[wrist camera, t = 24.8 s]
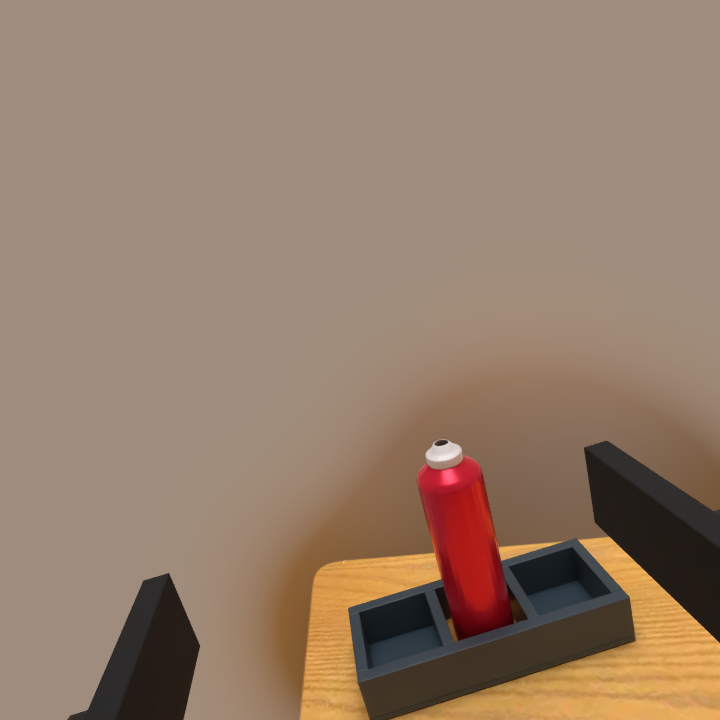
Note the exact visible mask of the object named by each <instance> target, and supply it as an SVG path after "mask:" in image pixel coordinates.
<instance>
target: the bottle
mask: <svg viewBox="0 0 720 720" xmlns="http://www.w3.org/2000/svg"><path fill="white" fill-rule="evenodd" d="M426 459H427V463H426V464H424V465H423V466H422V467H421V469H420V470H419V472H418V474H417V485H418V489H419V493H420V497H421V501H422V505H423V508H424V513H425V517H426V520H427V524H428V528H429V532H430V536H431V540H432V544H433V548H434V552H435V556H436V560H437V564H438V568H439V572H440V575H441V579H442V583H443V587H444V591H445V595H446V599H447V603H448V607H449V611H450V615H451V619H452V623H453V626H454V630H455V634H456V638H457V641H460V640H463V639H466V638H470V637H473V636H476V635H479V634H482V633H486V632H489V631H492V630H495V629H498V628H501V627H505V626H508V625H511V624H514V619H513V614H512V609H511V605H510V600H509V595H508V591H507V586H506V581H505V577H504V572H503V567H502V563H501V558H500V553H499V548H498V544H497V540H496V534H495V530H494V525H493V520H492V516H491V511H490V507H489V502H488V497H487V492H486V488H485V483H484V478H483V474H482V469H481V467H480V465H479V464H478V463H477V462H476V461H475V460H474V459H473V458H471V457H469V456H465V455H463V454H462V450H461V447H460V446H458V445H456V444H452V443H451V442H450V441H448V440H446V439H441V440H438V441H436V442H435V443H434V444H433V446H432V448H430V449H429V450H428V451H427V453H426Z"/></svg>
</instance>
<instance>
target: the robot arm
mask: <svg viewBox="0 0 720 720" xmlns="http://www.w3.org/2000/svg"><path fill="white" fill-rule="evenodd" d="M584 451H585V458H586V465H587V472H588V478H589V485H590V492H591V499H592V505H593V512H594V519H595V523H596V524H597V525H598V526H599V527H600V528H601V529H602V530H603V531H604V532H605V533H606V534H607V535H608V536H609V537H610V538H612V539H613V540H614V541H615V542H616V543H617V544H618V545H619V546H620V547H621V548H622V549H623V550H624V551H625V552H626V553H627V554H628V555H629V556H630V557H631V558H632V559H633V560H634V561H635V562H636V563H637V564H639V565H640V566H641V567H642V568H643V569H644V570H645V571H646V572H647V573H648V574H649V575H650V576H651V577H652V578H653V579H654V580H655V581H656V582H657V583H658V584H659V585H660V586H661V587H662V588H663V589H665V590H666V591H667V592H668V593H669V594H670V595H671V596H672V597H673V598H674V599H675V600H676V601H677V602H678V603H679V604H680V605H681V606H682V607H683V608H684V609H685V610H686V611H687V612H688V613H689V614H690V615H692V616H693V617H694V618H695V619H696V620H697V621H698V622H699V623H700V624H701V625H702V626H703V627H704V628H705V629H706V630H707V631H708V632H709V633H710V634H711V635H712V636H713V637H714V638H715V639H716V640H717V641H719V642H720V510H717V511H712V510H710V509H709V508H707V507H706V506H704V505H703V504H702V503H700V502H699V501H697V500H696V499H694V498H693V497H691V496H689V495H688V494H686V493H685V492H684V491H682V490H680V489H679V488H677V487H676V486H674V485H673V484H671V483H670V482H668V481H667V480H665V479H664V478H662V477H661V476H659V475H658V474H656V473H655V472H653V471H652V470H650V469H649V468H647V467H646V466H644V465H643V464H641V463H640V462H638V461H637V460H635V459H634V458H632V457H631V456H629V455H628V454H626V453H625V452H623V451H622V450H620V449H619V448H617V447H616V446H614V445H613V444H611V443H610V442H608V441H604V442H601V443H598V444H594V445H591V446H588V447H585V448H584ZM199 648H200V645H199V642H198V640H197V638H196V635H195V633H194V631H193V628H192V626H191V624H190V621H189V619H188V617H187V614H186V612H185V610H184V607H183V605H182V602H181V600H180V598H179V596H178V593H177V591H176V588H175V586H174V584H173V581H172V579H171V577H170V574H169V573H167V574H164V575H161V576H158V577H154V578H152V579H148V580H144V581H143V583H142V585H141V588H140V590H139V592H138V595H137V597H136V599H135V602H134V604H133V606H132V609H131V611H130V613H129V616H128V618H127V620H126V623H125V625H124V627H123V630H122V632H121V634H120V637H119V639H118V641H117V644H116V646H115V648H114V651H113V653H112V655H111V658H110V660H109V662H108V665H107V667H106V669H105V671H104V674H103V676H102V678H101V681H100V683H99V685H98V688H97V690H96V692H95V695H94V697H93V699H92V702H91V704H90V706H89V709H88V710H87V711H84V712H80V713H78V714H74V715H71V716H70V717H69V718H68V720H183V719H184V714H185V710H186V705H187V701H188V696H189V692H190V688H191V683H192V679H193V675H194V670H195V666H196V661H197V657H198V652H199Z"/></svg>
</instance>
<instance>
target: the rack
mask: <svg viewBox="0 0 720 720" xmlns="http://www.w3.org/2000/svg"><path fill="white" fill-rule="evenodd" d="M501 563H502V567H503V572H504V577H505V581H506V586H507V591H508V595H509V600H510V605H511V609H512V614H513V619H514V624H511V625H508V626H505V627H501V628H498V629H495V630H492V631H489V632H486V633H482V634H479V635H476V636H473V637H470V638H466V639H463V640H460V641H457V638H456V634H455V630H454V626H453V623H452V619H451V615H450V611H449V607H448V603H447V599H446V595H445V591H444V587H443V583H442V579H441V580H438V581H435V582H431V583H428V584H425V585H422V586H418V587H415V588H412V589H409V590H405V591H402V592H399V593H395V594H392V595H389V596H386V597H382V598H379V599H376V600H373V601H369V602H366V603H363V604H360V605H356V606H353V607H350V608H348V611H349V619H350V626H351V634H352V641H353V649H354V656H355V664H356V671H357V679H358V684H359V687H360V690H361V693H362V696H363V699H364V702H365V705H366V709H367V712H368V715H369V718H370V720H387V719H390V718H393V717H397V716H400V715H403V714H406V713H409V712H412V711H415V710H419V709H422V708H425V707H428V706H431V705H434V704H437V703H441V702H444V701H447V700H450V699H453V698H456V697H459V696H463V695H466V694H469V693H472V692H475V691H478V690H481V689H484V688H488V687H491V686H494V685H497V684H500V683H503V682H506V681H510V680H513V679H516V678H519V677H522V676H525V675H528V674H532V673H535V672H538V671H541V670H544V669H547V668H550V667H553V666H557V665H560V664H563V663H566V662H569V661H572V660H575V659H579V658H582V657H585V656H588V655H591V654H594V653H597V652H601V651H604V650H607V649H610V648H613V647H616V646H619V645H622V644H626V643H629V642H632V641H635V634H634V626H633V618H632V611H631V603H630V597H629V596H628V595H627V594H626V593H625V592H624V591H623V590H622V588H621V587H620V586H619V585H618V584H617V583H616V582H615V581H614V579H613V578H612V577H611V576H610V575H609V574H608V573H607V572H606V571H605V570H604V568H603V567H602V566H601V565H600V564H599V563H598V562H597V561H596V560H595V558H594V557H593V556H592V555H591V554H590V553H589V552H588V551H587V550H586V549H585V547H584V546H583V545H582V544H581V543H580V542H579V541H578V540H577V539H576V538H575V539H572V540H569V541H565V542H562V543H559V544H555V545H552V546H549V547H546V548H542V549H539V550H536V551H533V552H529V553H526V554H523V555H519V556H516V557H513V558H510V559H506V560H503V561H501Z"/></svg>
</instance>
